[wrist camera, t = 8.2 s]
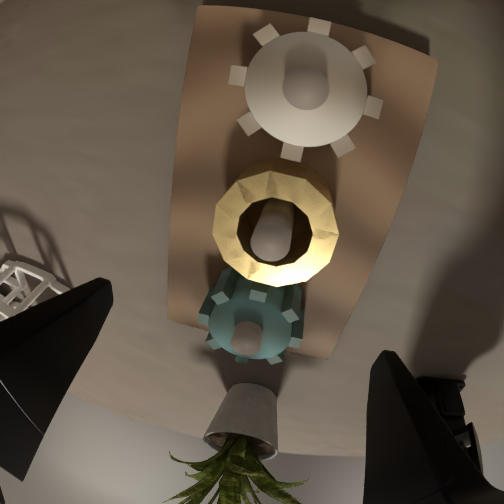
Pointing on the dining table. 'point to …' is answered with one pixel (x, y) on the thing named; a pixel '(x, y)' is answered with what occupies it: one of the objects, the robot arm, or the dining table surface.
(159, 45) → the dining table surface
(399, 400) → the robot arm
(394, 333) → the dining table surface
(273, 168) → the hollow tan sleeve
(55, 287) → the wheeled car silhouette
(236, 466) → the house plant
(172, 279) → the gear board
